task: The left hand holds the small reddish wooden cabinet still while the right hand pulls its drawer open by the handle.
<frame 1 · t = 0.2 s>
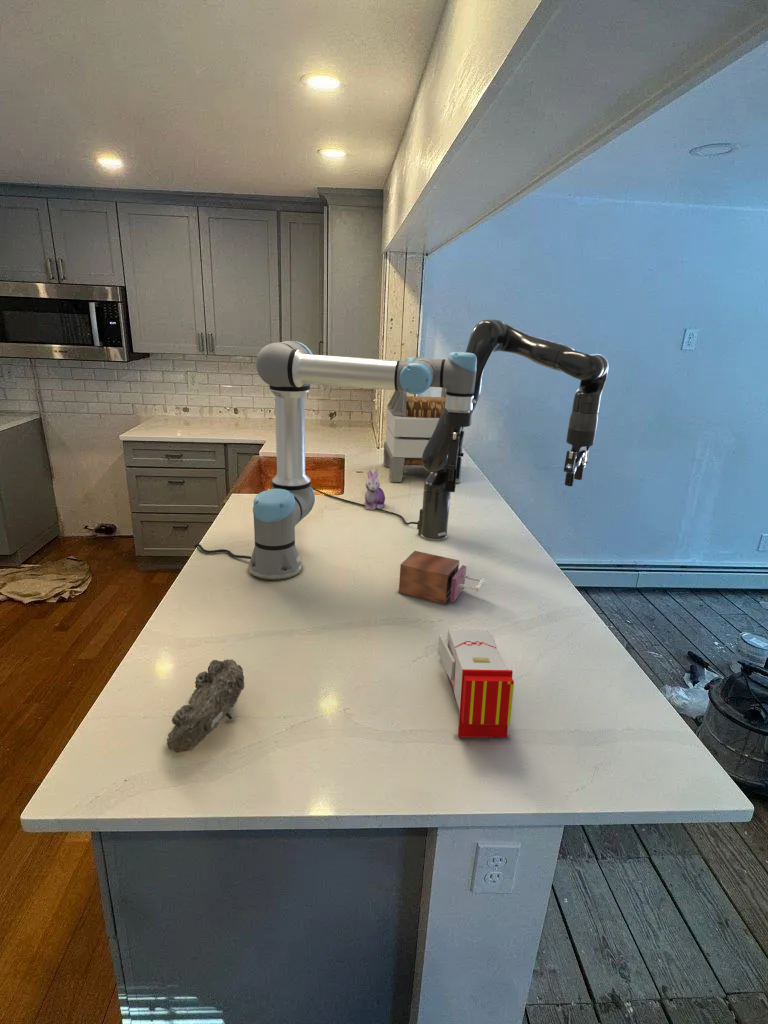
left hand: (452, 484, 163), 28 cm above the counter, tool pointing down, fingers open, 13 cm apart
right hand: (573, 482, 165), 29 cm above the counter, tool pointing down, fingers open, 8 cm apart
cabinet: (428, 590, 161), on the counter
drawer: (449, 581, 157), point 4 cm above the counter, slide at 1.1 cm
toy: (469, 691, 119), on the counter
fossil: (212, 717, 108), on the counter
figurine: (374, 506, 226), on the counter
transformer: (419, 473, 275), on the counter
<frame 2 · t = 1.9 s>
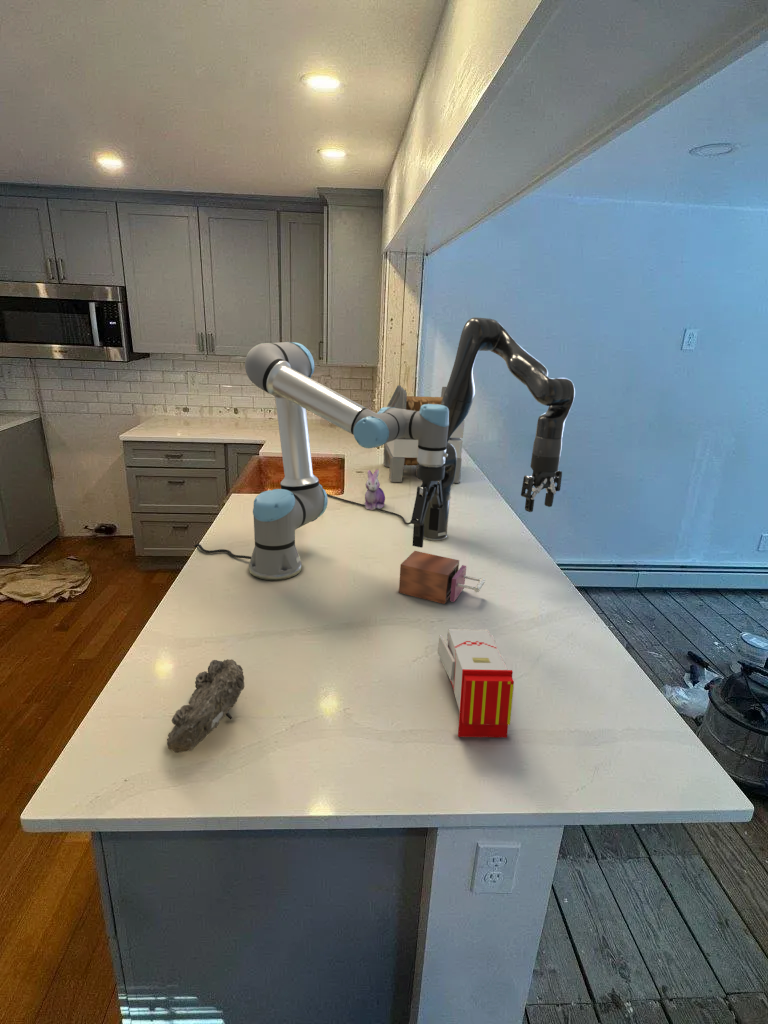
left hand: (425, 537, 158), 15 cm above the counter, tool pointing down, fingers open, 13 cm apart
right hand: (538, 508, 160), 23 cm above the counter, tool pointing down, fingers open, 8 cm apart
nothing on the counter moved.
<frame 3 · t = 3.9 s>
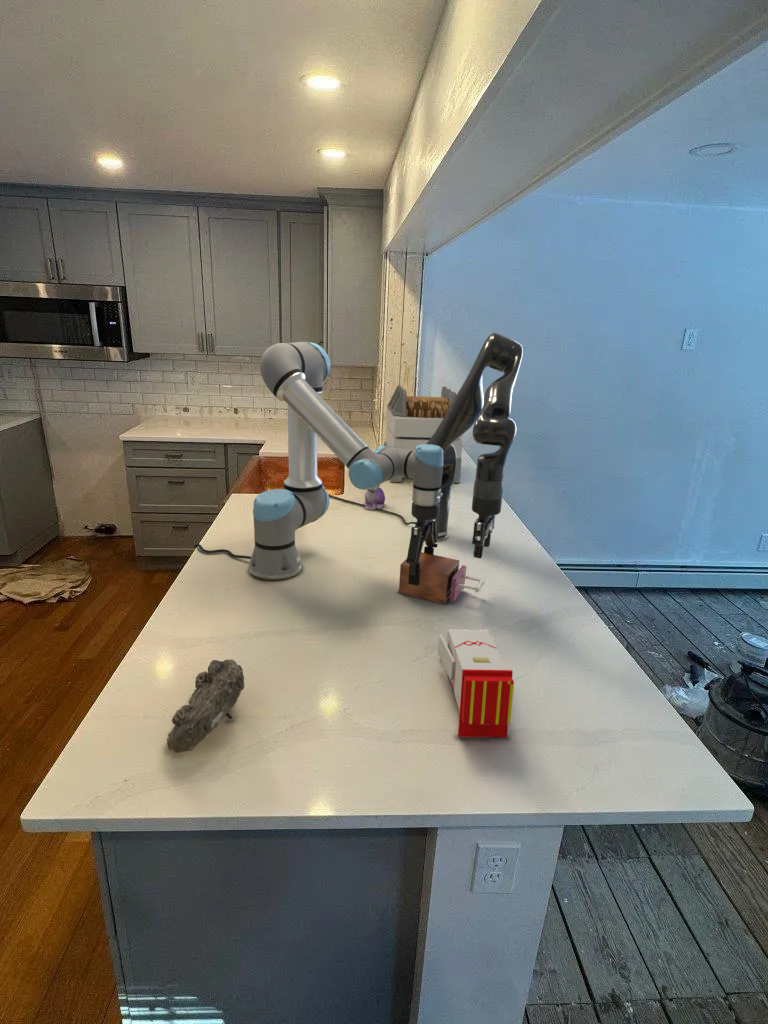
left hand: (420, 575, 160), 4 cm above the counter, tool pointing down, fingers closed on cabinet, 11 cm apart
right hand: (481, 551, 152), 14 cm above the counter, tool pointing down, fingers open, 8 cm apart
cabinet: (428, 590, 161), on the counter, touching left hand
everything else where it was.
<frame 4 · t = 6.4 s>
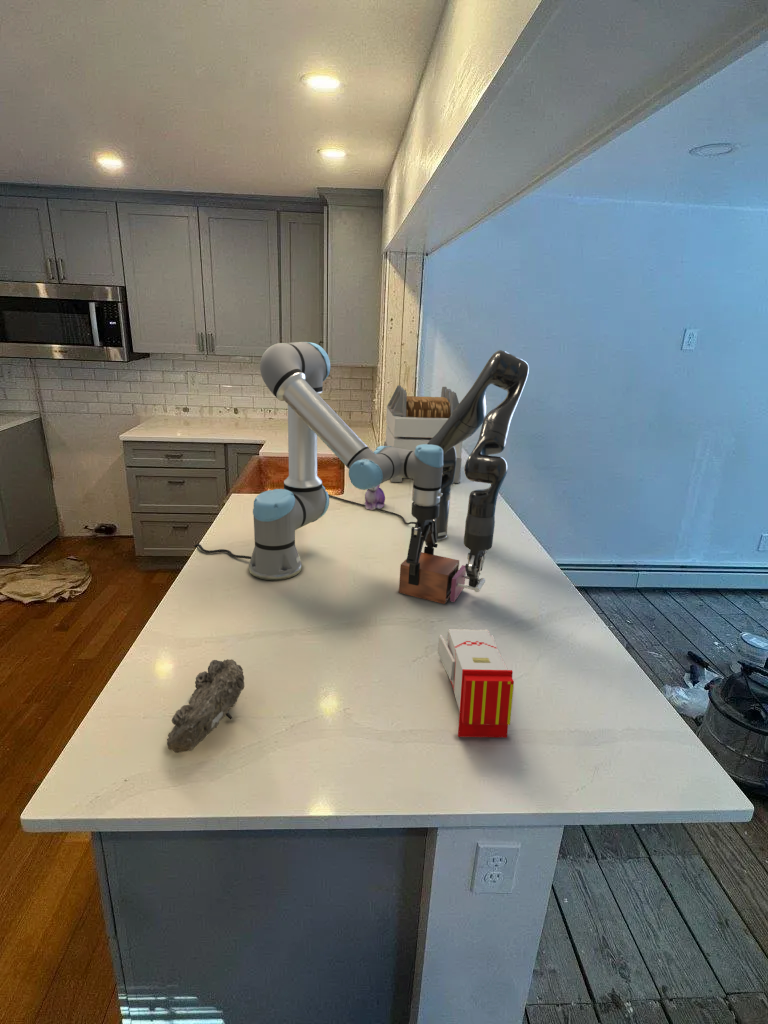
left hand: (420, 575, 160), 4 cm above the counter, tool pointing down, fingers closed on cabinet, 11 cm apart
right hand: (472, 588, 155), 4 cm above the counter, tool pointing down, fingers closed
cabinet: (428, 590, 161), on the counter, touching left hand
drawer: (449, 581, 157), point 4 cm above the counter, slide at 1.1 cm, touching right hand
everything else where it was.
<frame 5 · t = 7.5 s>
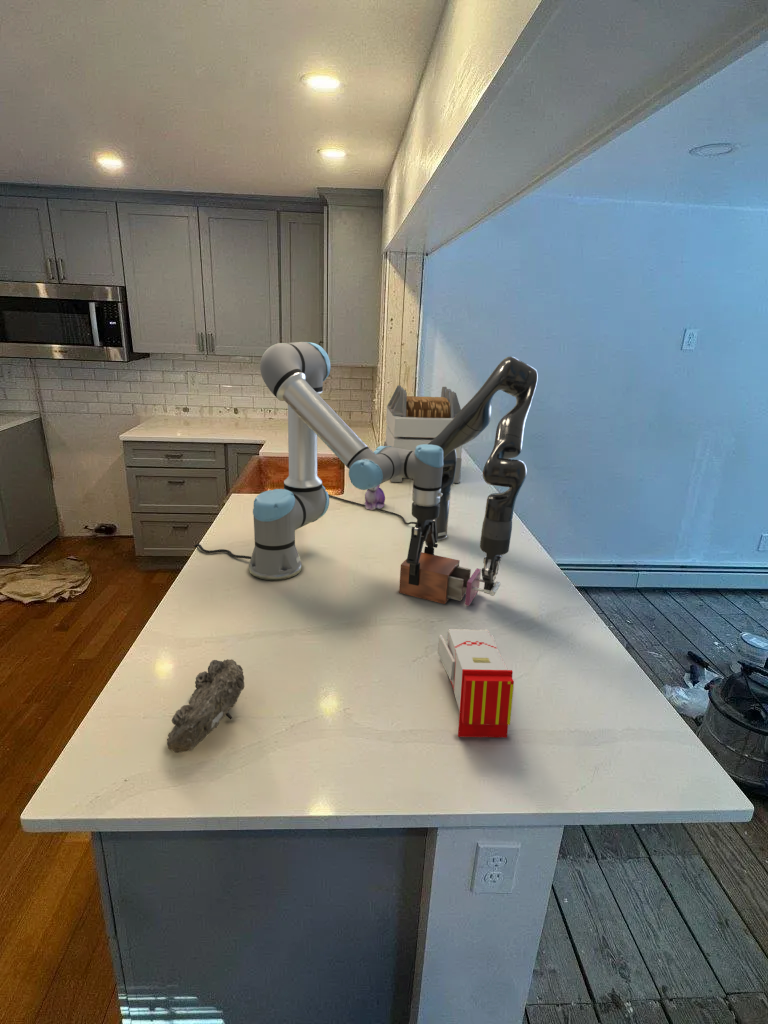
left hand: (420, 576, 160), 4 cm above the counter, tool pointing down, fingers closed on cabinet, 11 cm apart
right hand: (487, 592, 153), 4 cm above the counter, tool pointing down, fingers closed
cabinet: (428, 590, 161), on the counter, touching left hand
drawer: (464, 584, 156), point 4 cm above the counter, slide at 5.2 cm, touching right hand
everything else where it was.
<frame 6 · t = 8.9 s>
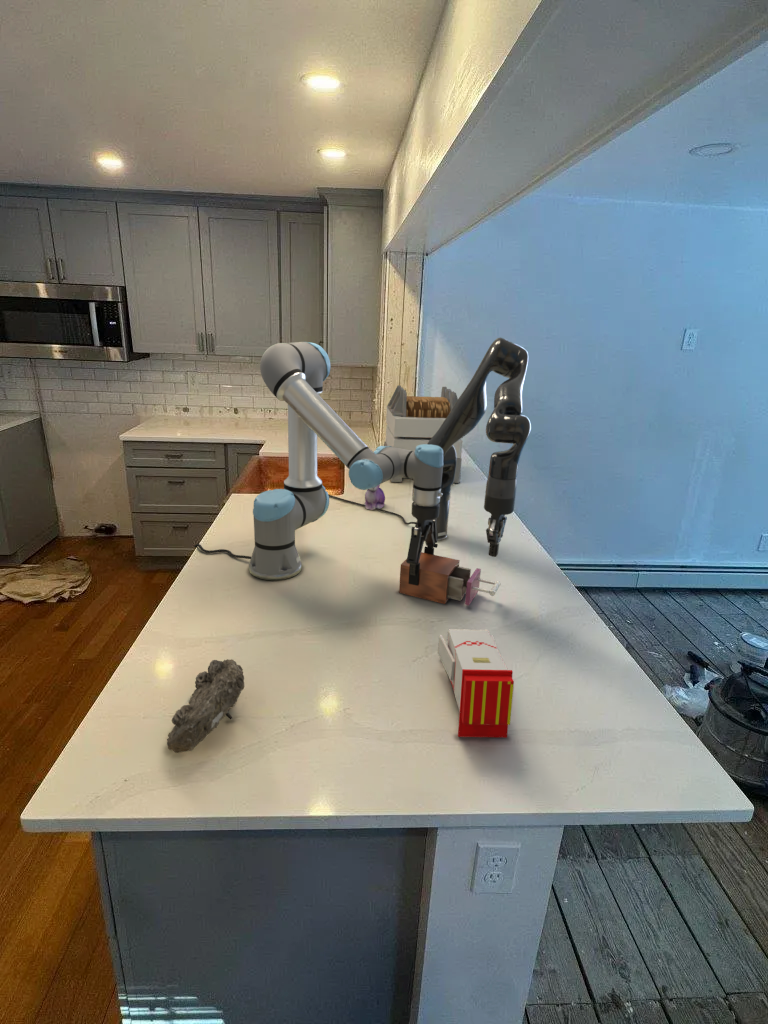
left hand: (420, 575, 160), 4 cm above the counter, tool pointing down, fingers closed on cabinet, 11 cm apart
right hand: (493, 555, 149), 15 cm above the counter, tool pointing down, fingers closed
cabinet: (428, 590, 161), on the counter, touching left hand
drawer: (464, 584, 156), point 4 cm above the counter, slide at 5.2 cm
everything else where it was.
when the left hand's fingers open (4 cm above the counter, at t = 9.6 s): cabinet stays where it is, on the counter.
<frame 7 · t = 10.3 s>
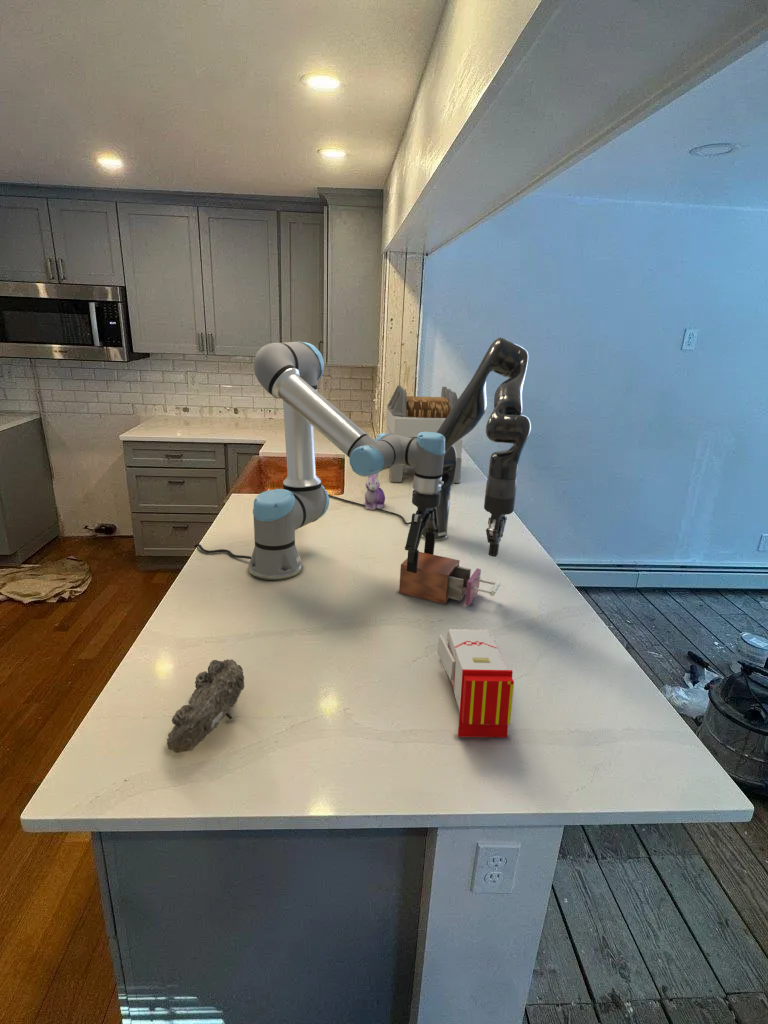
left hand: (420, 562, 159), 8 cm above the counter, tool pointing down, fingers open, 13 cm apart
right hand: (493, 555, 149), 15 cm above the counter, tool pointing down, fingers closed
cabinet: (428, 590, 161), on the counter
everything else where it was.
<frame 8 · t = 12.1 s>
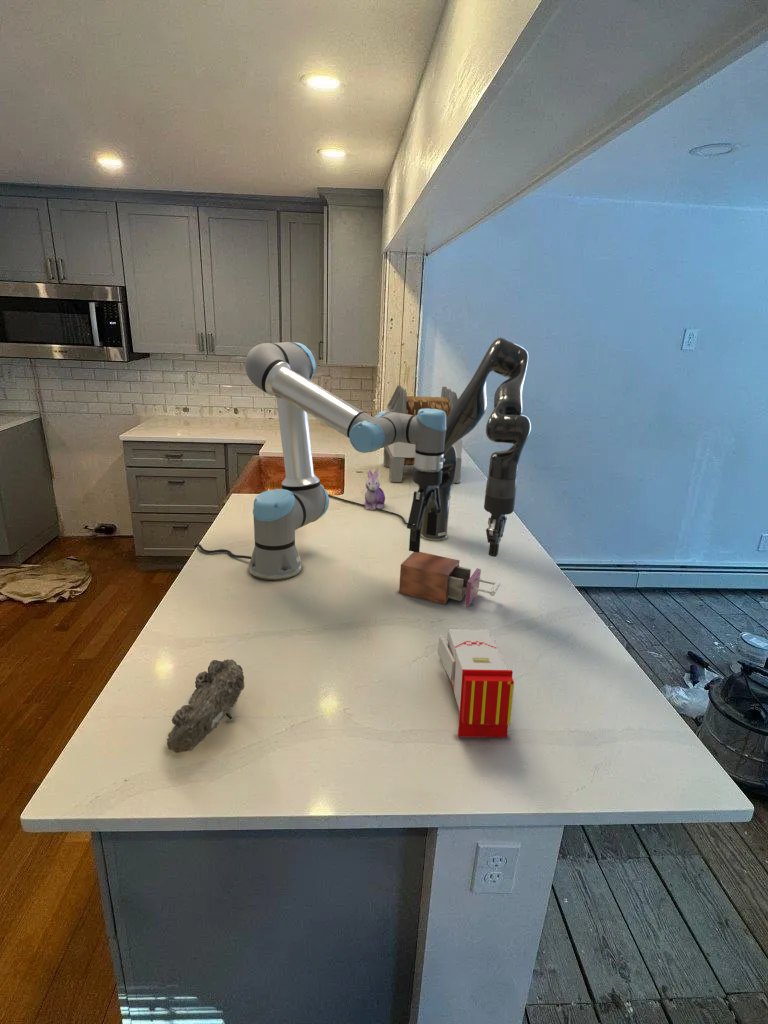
left hand: (423, 542, 157), 14 cm above the counter, tool pointing down, fingers open, 13 cm apart
right hand: (493, 555, 149), 15 cm above the counter, tool pointing down, fingers closed
nothing on the counter moved.
at the end: drawer slide at 5.2 cm; cabinet tilted 0°; cabinet never tilted more than 1° during the clip; cabinet moved 0.1 cm from its start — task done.
